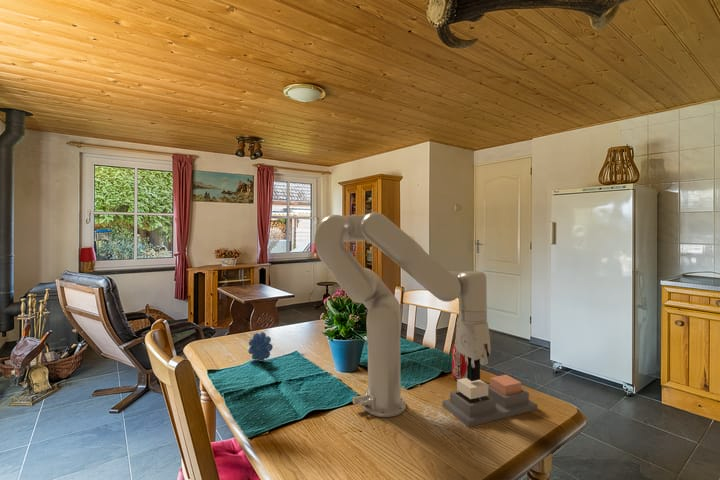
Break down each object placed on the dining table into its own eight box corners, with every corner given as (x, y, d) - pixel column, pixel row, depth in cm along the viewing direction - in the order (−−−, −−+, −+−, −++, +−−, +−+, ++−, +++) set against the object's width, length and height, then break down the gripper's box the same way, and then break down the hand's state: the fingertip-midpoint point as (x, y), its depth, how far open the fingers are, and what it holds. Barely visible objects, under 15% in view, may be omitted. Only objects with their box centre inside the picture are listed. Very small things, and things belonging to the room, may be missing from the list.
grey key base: (468, 427, 93) (468, 410, 93) (442, 405, 104) (442, 390, 104) (537, 409, 101) (537, 393, 101) (506, 391, 113) (506, 377, 112)
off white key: (470, 399, 96) (470, 388, 96) (457, 389, 102) (457, 379, 102) (488, 395, 99) (488, 384, 99) (474, 386, 104) (474, 376, 104)
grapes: (279, 360, 141) (278, 330, 141) (268, 366, 135) (267, 335, 135) (256, 356, 146) (255, 327, 146) (244, 361, 140) (244, 331, 140)
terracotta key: (505, 396, 101) (505, 386, 101) (490, 387, 106) (490, 377, 106) (521, 392, 103) (521, 382, 103) (506, 384, 109) (506, 374, 108)
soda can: (474, 384, 118) (474, 348, 118) (452, 382, 119) (452, 347, 119) (472, 375, 125) (472, 342, 125) (451, 374, 126) (451, 340, 126)
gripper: (446, 311, 105) (447, 371, 106) (479, 323, 91) (480, 393, 92) (466, 308, 108) (467, 367, 108) (502, 319, 94) (503, 387, 95)
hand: (473, 379), depth 100 cm, fingers closed
